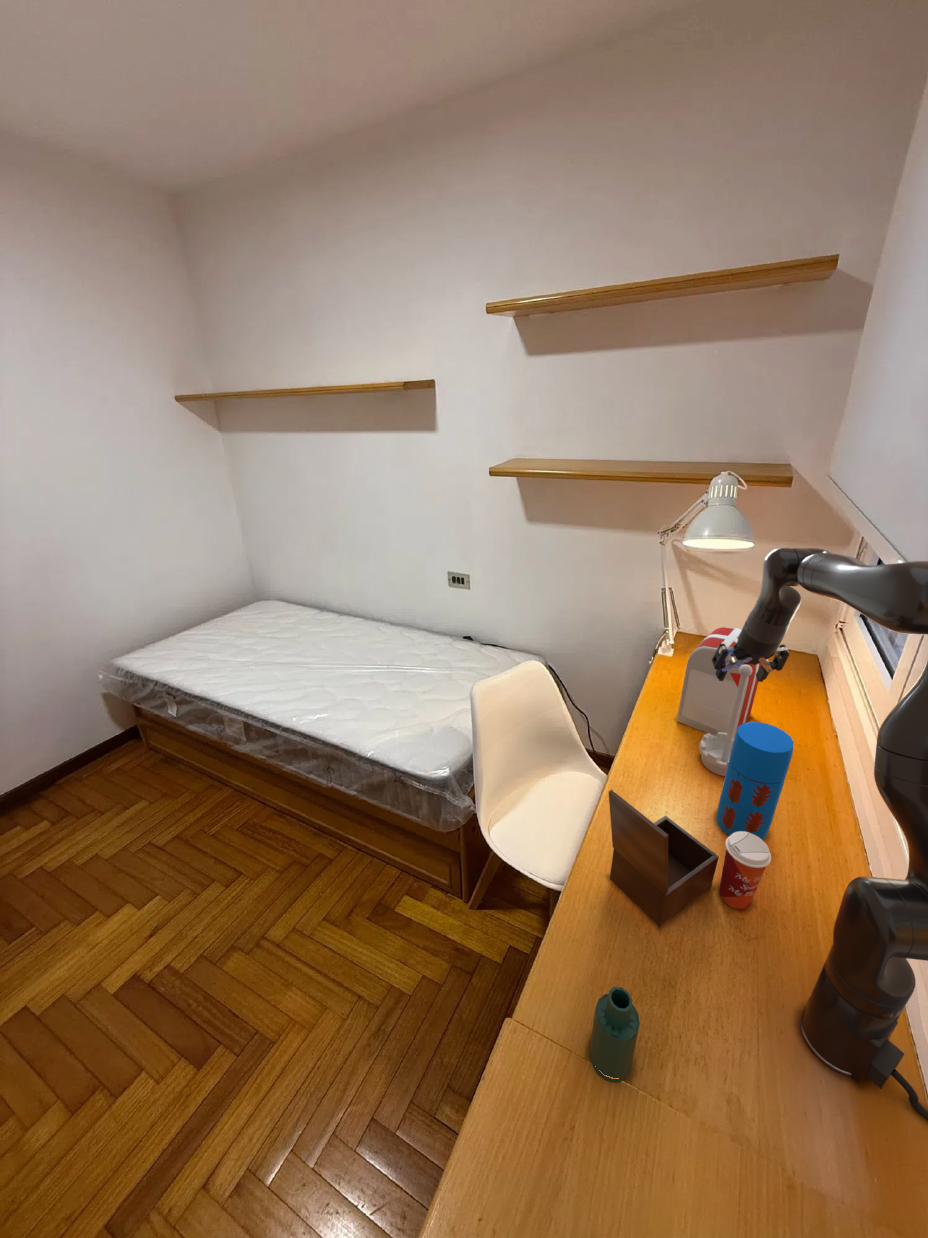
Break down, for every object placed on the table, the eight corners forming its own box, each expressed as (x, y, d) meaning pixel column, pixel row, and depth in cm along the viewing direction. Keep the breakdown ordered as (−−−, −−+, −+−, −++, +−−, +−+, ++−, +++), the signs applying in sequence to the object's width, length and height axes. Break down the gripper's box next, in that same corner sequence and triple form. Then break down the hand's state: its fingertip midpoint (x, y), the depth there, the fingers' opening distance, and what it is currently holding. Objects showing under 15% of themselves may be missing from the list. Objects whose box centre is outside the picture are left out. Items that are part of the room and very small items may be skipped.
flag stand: (762, 776, 133) (790, 676, 121) (715, 783, 131) (739, 681, 119) (730, 745, 145) (753, 650, 132) (687, 750, 143) (706, 655, 131)
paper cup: (732, 919, 98) (747, 867, 92) (704, 884, 105) (717, 834, 99) (766, 908, 100) (783, 856, 94) (737, 875, 107) (751, 825, 101)
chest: (659, 845, 114) (665, 815, 111) (711, 887, 104) (719, 856, 101) (609, 878, 107) (613, 847, 103) (659, 927, 97) (666, 895, 93)
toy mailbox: (675, 720, 156) (689, 640, 144) (696, 695, 168) (710, 620, 156) (733, 743, 146) (754, 659, 134) (751, 715, 157) (771, 635, 146)
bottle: (639, 1065, 78) (652, 1005, 71) (610, 1092, 75) (621, 1033, 68) (609, 1027, 82) (619, 968, 76) (581, 1051, 79) (588, 992, 73)
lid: (611, 789, 95) (608, 791, 94) (668, 835, 85) (665, 837, 85) (615, 845, 103) (612, 847, 103) (668, 892, 93) (665, 895, 93)
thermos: (774, 847, 113) (803, 756, 103) (721, 840, 115) (744, 750, 105) (759, 810, 123) (784, 724, 112) (710, 804, 125) (730, 719, 114)
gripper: (733, 642, 104) (711, 691, 116) (808, 643, 103) (777, 692, 115) (723, 616, 110) (702, 665, 121) (793, 616, 108) (766, 666, 120)
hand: (739, 678), depth 118 cm, fingers open, 8 cm apart
